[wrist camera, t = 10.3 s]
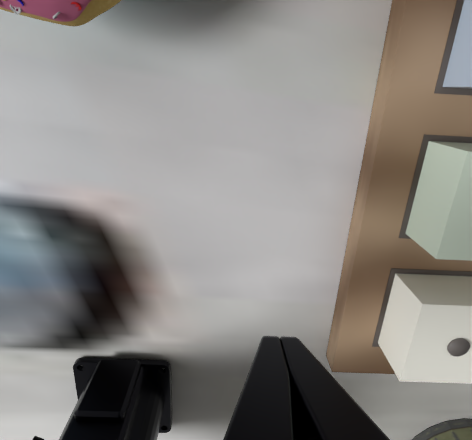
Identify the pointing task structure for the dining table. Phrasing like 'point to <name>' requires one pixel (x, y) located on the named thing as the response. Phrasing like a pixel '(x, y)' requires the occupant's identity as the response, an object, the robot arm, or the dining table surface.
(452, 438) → the moai stone figurine
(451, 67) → the tile three
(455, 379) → the tile one
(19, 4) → the cupcake
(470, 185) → the tile two
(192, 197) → the dining table surface
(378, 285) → the wooden plank tray
